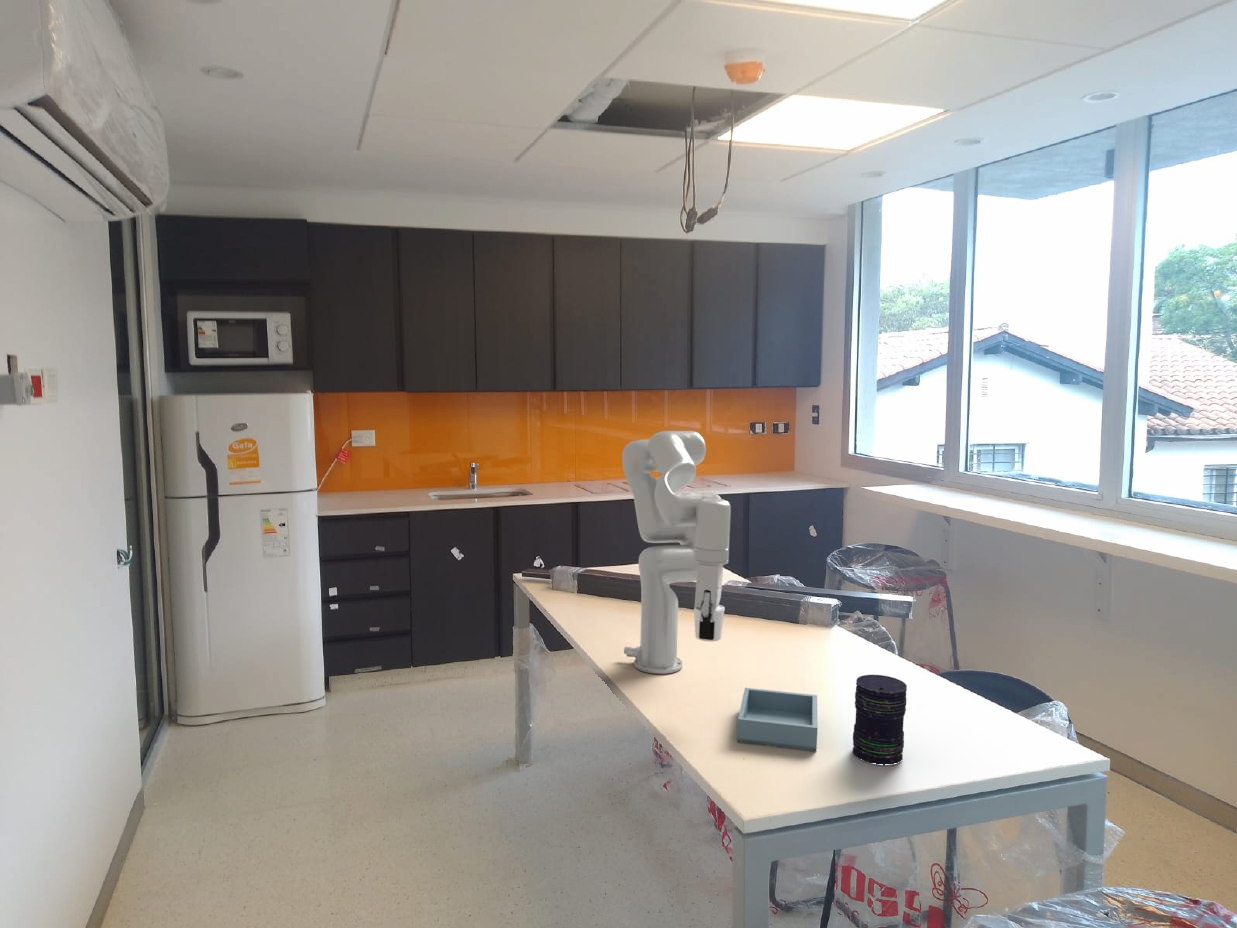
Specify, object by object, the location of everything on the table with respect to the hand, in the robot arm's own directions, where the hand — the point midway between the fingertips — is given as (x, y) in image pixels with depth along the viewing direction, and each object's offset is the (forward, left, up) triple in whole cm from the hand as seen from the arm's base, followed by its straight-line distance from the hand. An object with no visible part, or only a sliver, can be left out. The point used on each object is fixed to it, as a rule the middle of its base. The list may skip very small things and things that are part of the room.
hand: (708, 633), depth 185 cm
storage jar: (+36, -11, -18) cm, 42 cm away
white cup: (0, 0, -1) cm, 1 cm away
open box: (+16, -4, -18) cm, 25 cm away
